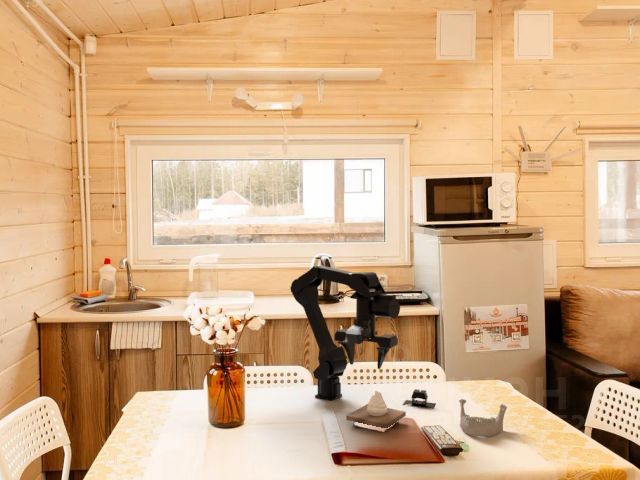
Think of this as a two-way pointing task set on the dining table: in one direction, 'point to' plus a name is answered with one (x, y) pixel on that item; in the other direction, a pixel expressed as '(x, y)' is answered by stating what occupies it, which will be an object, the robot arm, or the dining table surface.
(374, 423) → the walnut stand
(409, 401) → the build plate
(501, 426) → the anatomical model
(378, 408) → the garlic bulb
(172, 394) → the dining table surface
